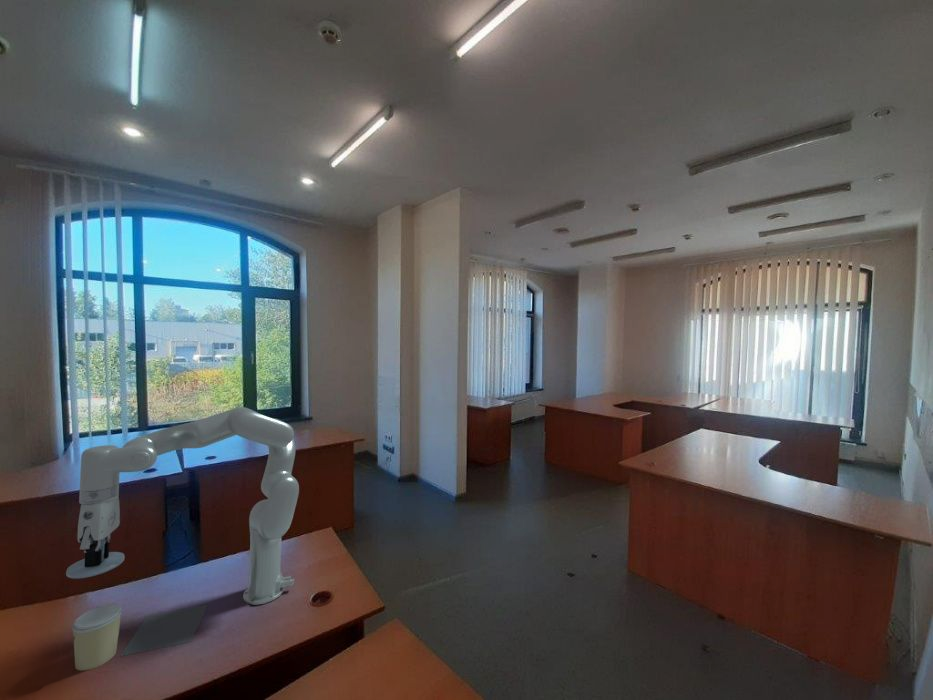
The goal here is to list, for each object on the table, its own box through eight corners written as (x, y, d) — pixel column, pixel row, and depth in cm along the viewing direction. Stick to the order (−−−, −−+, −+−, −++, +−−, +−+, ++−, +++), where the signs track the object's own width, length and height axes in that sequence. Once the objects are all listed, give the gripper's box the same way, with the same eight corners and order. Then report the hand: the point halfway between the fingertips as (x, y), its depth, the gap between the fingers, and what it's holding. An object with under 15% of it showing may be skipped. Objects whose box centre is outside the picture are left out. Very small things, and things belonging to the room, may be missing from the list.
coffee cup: (93, 647, 103) (95, 603, 103) (129, 645, 104) (131, 602, 104) (59, 676, 94) (61, 628, 94) (99, 674, 95) (101, 627, 95)
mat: (208, 606, 120) (208, 605, 120) (190, 643, 105) (190, 641, 105) (147, 618, 115) (147, 616, 115) (119, 658, 100) (120, 656, 100)
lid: (132, 552, 106) (133, 525, 106) (111, 573, 95) (112, 544, 95) (82, 558, 102) (83, 530, 102) (54, 581, 92) (56, 551, 92)
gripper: (100, 503, 93) (97, 577, 92) (132, 481, 108) (129, 545, 108) (60, 507, 90) (57, 582, 90) (99, 484, 105) (96, 549, 105)
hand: (96, 561), depth 99 cm, fingers closed on lid, 2 cm apart
